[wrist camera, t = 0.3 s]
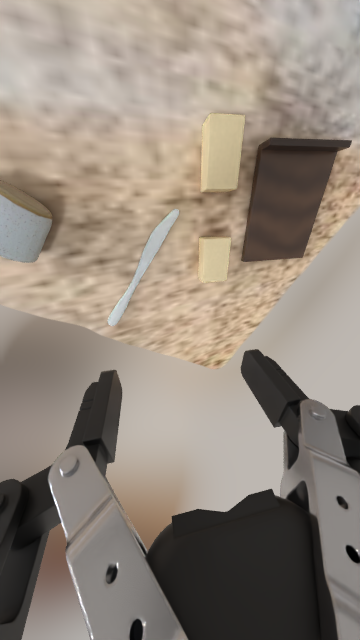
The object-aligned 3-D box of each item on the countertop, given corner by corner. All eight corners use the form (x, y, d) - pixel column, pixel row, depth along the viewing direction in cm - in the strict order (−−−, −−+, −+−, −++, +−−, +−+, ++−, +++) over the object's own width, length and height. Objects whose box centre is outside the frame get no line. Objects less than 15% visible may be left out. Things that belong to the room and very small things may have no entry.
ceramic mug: (64, 215, 28) (38, 214, 21) (46, 258, 30) (18, 269, 24) (-19, 160, 23) (-85, 136, 17) (-32, 215, 26) (-93, 214, 19)
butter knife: (101, 322, 38) (114, 327, 39) (169, 202, 29) (183, 214, 30) (102, 320, 38) (115, 326, 39) (169, 202, 30) (182, 214, 31)
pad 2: (199, 237, 33) (204, 239, 30) (223, 236, 34) (231, 237, 31) (198, 278, 37) (202, 283, 34) (220, 276, 38) (226, 281, 35)
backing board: (258, 145, 28) (271, 137, 25) (333, 147, 30) (352, 140, 27) (241, 260, 37) (248, 264, 34) (298, 256, 39) (310, 259, 36)
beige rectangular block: (202, 125, 25) (210, 112, 22) (234, 126, 26) (245, 114, 23) (200, 192, 29) (206, 189, 26) (227, 191, 30) (237, 189, 27)
